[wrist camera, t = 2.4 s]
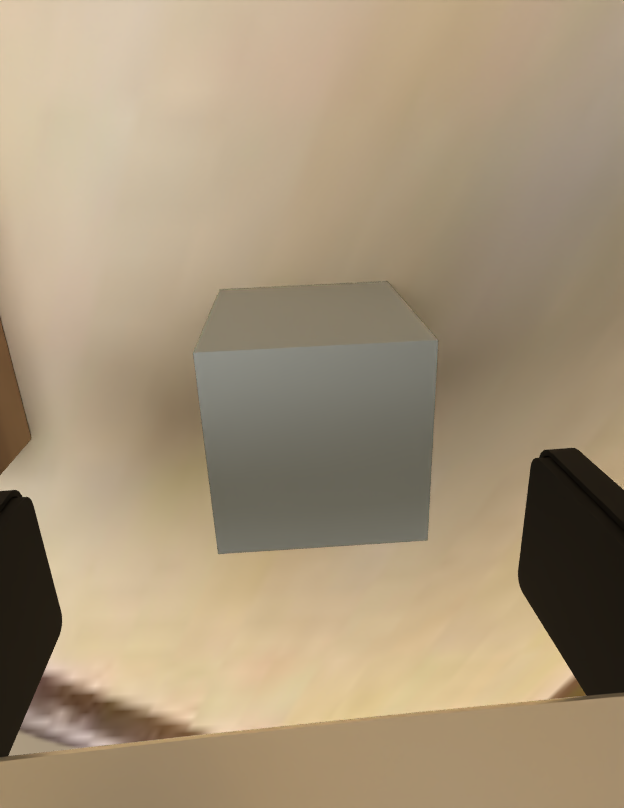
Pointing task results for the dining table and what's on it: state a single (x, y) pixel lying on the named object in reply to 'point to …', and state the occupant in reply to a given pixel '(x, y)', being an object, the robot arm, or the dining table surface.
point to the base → (10, 410)
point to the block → (316, 416)
